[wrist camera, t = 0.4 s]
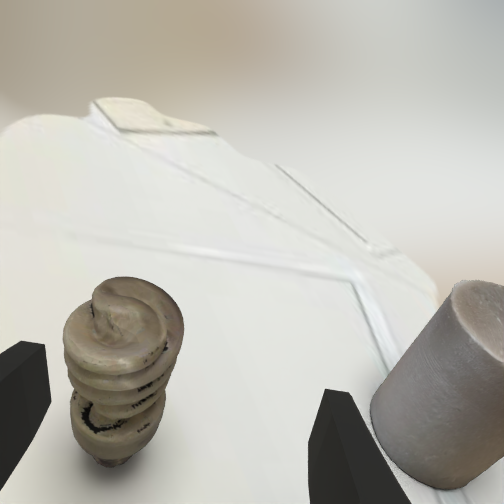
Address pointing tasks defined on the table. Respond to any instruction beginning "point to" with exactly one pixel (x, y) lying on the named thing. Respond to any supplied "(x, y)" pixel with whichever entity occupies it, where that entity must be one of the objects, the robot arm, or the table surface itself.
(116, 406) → the light bulb
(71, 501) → the table surface
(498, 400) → the pillar candle
